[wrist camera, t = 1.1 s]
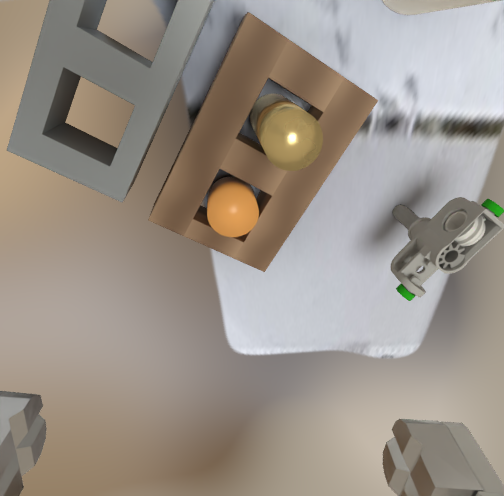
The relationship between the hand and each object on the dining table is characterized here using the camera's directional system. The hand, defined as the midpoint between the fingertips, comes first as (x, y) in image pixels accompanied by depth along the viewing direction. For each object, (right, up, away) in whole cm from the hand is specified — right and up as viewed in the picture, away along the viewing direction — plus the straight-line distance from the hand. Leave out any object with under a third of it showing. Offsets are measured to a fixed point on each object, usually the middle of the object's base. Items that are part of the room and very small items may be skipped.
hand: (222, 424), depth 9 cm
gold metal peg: (+3, +16, +25) cm, 30 cm away
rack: (-10, +19, +22) cm, 31 cm away
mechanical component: (+16, +8, +31) cm, 36 cm away
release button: (-1, +9, +26) cm, 28 cm away
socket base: (+1, +13, +26) cm, 29 cm away
